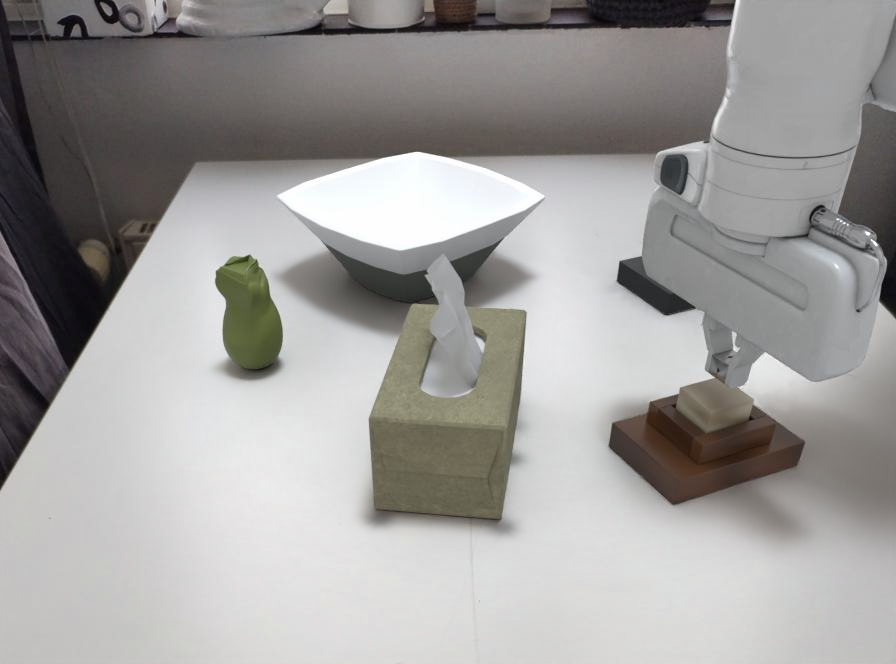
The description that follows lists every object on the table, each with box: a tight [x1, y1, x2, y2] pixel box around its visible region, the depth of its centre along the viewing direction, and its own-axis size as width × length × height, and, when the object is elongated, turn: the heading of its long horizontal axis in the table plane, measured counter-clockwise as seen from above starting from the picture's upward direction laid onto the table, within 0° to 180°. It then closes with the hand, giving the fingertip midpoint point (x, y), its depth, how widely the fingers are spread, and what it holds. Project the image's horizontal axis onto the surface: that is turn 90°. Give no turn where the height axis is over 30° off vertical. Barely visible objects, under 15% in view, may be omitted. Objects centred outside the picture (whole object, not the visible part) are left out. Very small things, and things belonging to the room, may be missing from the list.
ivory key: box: [676, 377, 755, 433], centre depth 69 cm, size 4×4×2 cm
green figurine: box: [214, 254, 284, 370], centre depth 81 cm, size 6×5×10 cm
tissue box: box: [368, 254, 528, 520], centre depth 68 cm, size 19×10×16 cm, turn 171°
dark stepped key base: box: [616, 255, 697, 316], centre depth 93 cm, size 12×9×4 cm
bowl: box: [276, 151, 546, 304], centre depth 94 cm, size 22×23×8 cm
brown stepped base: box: [608, 393, 806, 505], centre depth 71 cm, size 12×9×4 cm
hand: (725, 378), depth 67 cm, fingers closed
